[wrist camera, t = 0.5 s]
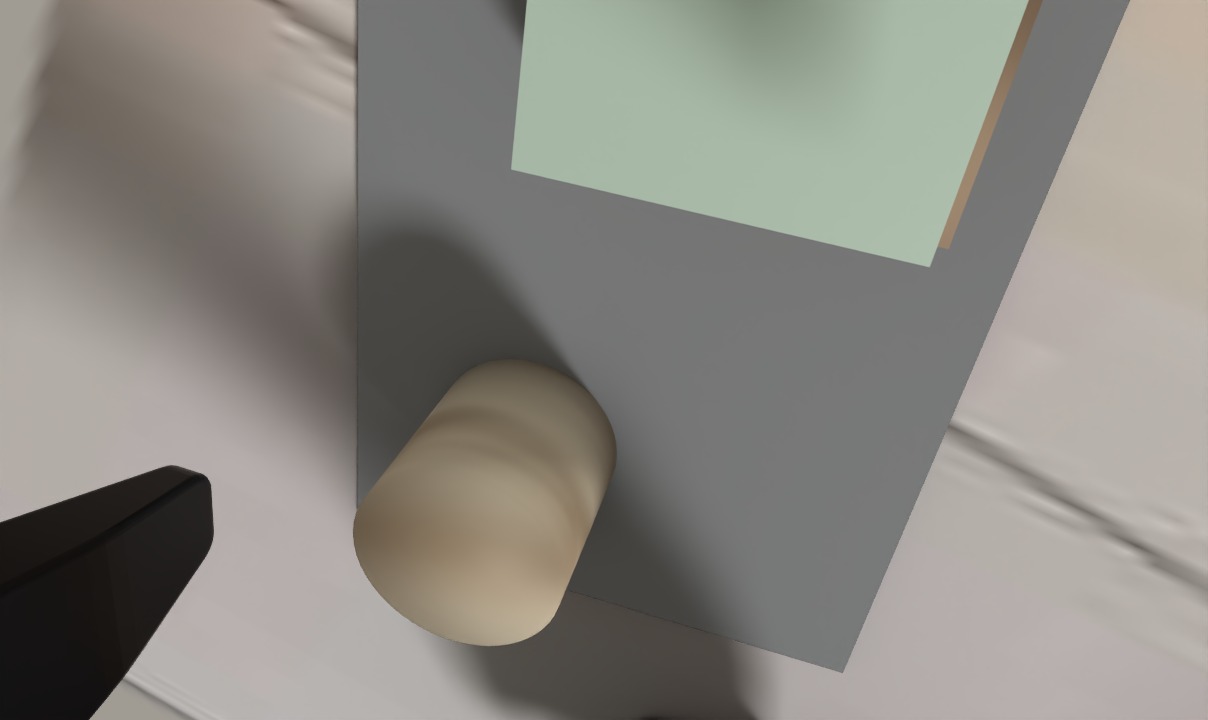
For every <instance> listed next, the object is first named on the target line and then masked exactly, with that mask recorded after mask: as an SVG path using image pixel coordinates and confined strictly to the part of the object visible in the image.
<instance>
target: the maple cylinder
mask: <svg viewBox="0 0 1208 720" xmlns="http://www.w3.org/2000/svg"><path fill="white" fill-rule="evenodd" d="M616 459H617V446H616V440H615V435H614V432H613V429H612V426H611V423H610V421H609V419H608V417H607V416H606V414H605V412H604V411H603V409H602V408H601V406H600V405H599V403H598V402H597V401H596V400H595V399H594V397H593V396H592V395H591V394H590V393H589V392H588V391H587V390H586V389H585V388H584V387H582V386H581V385H580V384H579V383H577V382H576V381H575V380H573V379H572V378H570V377H569V376H567V375H565V374H564V373H562V372H560V371H558V370H556V369H553V368H551V367H549V366H546V365H543V364H540V363H536V362H532V361H527V360H518V359H501V360H495V361H490V362H486V363H483V364H480V365H478V366H476V367H474V368H472V369H470V370H468V371H467V372H466V373H464V374H463V375H462V376H460V377H459V378H458V379H457V380H456V381H455V383H454V384H453V385H452V386H451V388H450V389H449V390H448V391H447V393H446V394H445V395H444V397H443V398H442V399H441V400H440V402H439V403H438V404H437V406H436V407H435V408H434V409H433V411H432V412H431V413H430V415H429V416H428V417H427V418H426V420H425V421H424V422H423V424H422V425H421V426H420V427H419V429H418V430H417V431H416V432H415V434H414V435H413V436H412V438H411V439H410V440H409V441H408V443H407V444H406V445H405V447H404V448H403V449H402V450H401V452H400V453H399V454H398V456H397V457H396V458H395V459H394V461H393V462H392V463H391V464H390V466H389V467H388V468H387V470H386V471H385V472H384V473H383V475H382V476H381V477H380V479H379V480H378V481H377V482H376V484H375V485H374V486H373V488H372V489H371V490H370V491H369V493H368V494H367V495H366V497H365V498H364V499H363V501H362V502H361V504H360V506H359V508H358V510H357V512H356V516H355V520H354V527H353V538H354V546H355V550H356V554H357V557H358V560H359V562H360V565H361V567H362V569H363V571H364V573H365V575H366V576H367V578H368V579H369V581H370V582H371V584H372V585H373V587H374V588H375V589H376V590H377V592H378V593H379V594H380V595H381V596H382V597H383V598H384V599H385V600H386V601H387V602H388V603H389V604H390V605H391V606H392V607H393V608H394V609H395V610H396V611H398V612H399V613H400V614H401V615H403V616H404V617H406V618H407V619H408V620H410V621H411V622H413V623H415V624H416V625H418V626H420V627H422V628H423V629H425V630H427V631H430V632H432V633H434V634H436V635H438V636H441V637H444V638H447V639H449V640H453V641H457V642H461V643H465V644H471V645H480V646H500V645H507V644H512V643H516V642H519V641H523V640H525V639H527V638H529V637H531V636H533V635H535V634H536V633H538V632H539V631H541V630H542V629H543V628H544V627H545V626H546V625H547V624H548V623H549V622H550V621H551V619H552V618H553V617H554V615H555V613H556V611H557V609H558V607H559V605H560V603H561V600H562V598H563V595H564V593H565V590H566V588H567V586H568V583H569V581H570V578H571V576H572V573H573V571H574V568H575V566H576V564H577V561H578V559H579V556H580V554H581V551H582V549H583V547H584V544H585V542H586V539H587V537H588V534H589V532H590V530H591V527H592V525H593V522H594V520H595V517H596V515H597V512H598V510H599V508H600V505H601V503H602V500H603V498H604V495H605V493H606V491H607V488H608V486H609V483H610V481H611V478H612V476H613V473H614V470H615V466H616Z"/></svg>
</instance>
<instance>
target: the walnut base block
mask: <svg viewBox="0 0 1208 720" xmlns="http://www.w3.org/2000/svg"><path fill="white" fill-rule="evenodd" d="M1042 1H1043V0H1029V1H1028V4H1027V6H1026V9H1025V12H1024V14H1023V17H1022V20H1021V23H1020V25H1019V28H1018V31H1017V33H1016V36H1015V39H1014V41H1013V44H1012V47H1011V49H1010V52H1009V55H1008V58H1007V60H1006V63H1005V66H1004V68H1003V71H1002V74H1001V76H1000V79H999V82H998V85H997V87H996V90H995V93H994V95H993V98H992V101H991V103H990V106H989V109H988V111H987V114H986V117H985V120H984V122H983V125H982V128H981V130H980V133H979V136H978V138H977V141H976V144H975V146H974V149H973V152H972V155H971V157H970V160H969V163H968V165H967V168H966V171H965V173H964V176H963V179H962V182H961V184H960V187H959V190H958V192H957V195H956V198H955V200H954V203H953V206H952V208H951V211H950V214H949V217H948V219H947V222H946V225H945V227H944V230H943V233H942V235H941V238H940V241H939V244H938V246H937V247H941V248H946V249H949V247H950V244H951V242H952V239H953V236H954V234H955V231H956V228H957V226H958V223H959V221H960V218H961V215H962V213H963V210H964V207H965V205H966V202H967V199H968V197H969V194H970V191H971V189H972V186H973V184H974V181H975V178H976V176H977V173H978V170H979V168H980V165H981V162H982V160H983V157H984V155H985V152H986V149H987V147H988V144H989V141H990V139H991V136H992V133H993V131H994V128H995V126H996V123H997V120H998V118H999V115H1000V112H1001V110H1002V107H1003V104H1004V102H1005V99H1006V96H1007V94H1008V91H1009V89H1010V86H1011V83H1012V81H1013V78H1014V75H1015V73H1016V70H1017V67H1018V65H1019V62H1020V60H1021V57H1022V54H1023V52H1024V49H1025V46H1026V44H1027V41H1028V38H1029V36H1030V33H1031V30H1032V28H1033V25H1034V23H1035V20H1036V17H1037V15H1038V12H1039V9H1040V7H1041V4H1042Z"/></svg>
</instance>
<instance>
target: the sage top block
mask: <svg viewBox="0 0 1208 720" xmlns="http://www.w3.org/2000/svg"><path fill="white" fill-rule="evenodd" d="M1028 1H1029V0H527V6H526V16H525V27H524V38H523V48H522V59H521V69H520V80H519V91H518V101H517V112H516V122H515V133H514V144H513V154H512V165H511V170H516V171H520V172H524V173H529V174H533V175H537V176H541V177H546V178H550V179H554V180H559V181H563V182H567V183H571V184H576V185H580V186H584V187H588V188H593V189H597V190H601V191H606V192H610V193H614V194H618V195H623V196H627V197H631V198H636V199H640V200H644V201H648V202H653V203H657V204H661V205H665V206H670V207H674V208H678V209H683V210H687V211H691V212H695V213H700V214H704V215H708V216H712V217H717V218H721V219H725V220H730V221H734V222H738V223H742V224H747V225H751V226H755V227H760V228H764V229H768V230H772V231H777V232H781V233H785V234H789V235H794V236H798V237H802V238H807V239H811V240H815V241H819V242H824V243H828V244H832V245H837V246H841V247H845V248H849V249H854V250H858V251H862V252H866V253H871V254H875V255H879V256H884V257H888V258H892V259H896V260H901V261H905V262H909V263H914V264H918V265H922V266H926V267H930V265H931V262H932V260H933V257H934V254H935V252H936V249H937V246H938V244H939V241H940V238H941V235H942V233H943V230H944V227H945V225H946V222H947V219H948V217H949V214H950V211H951V208H952V206H953V203H954V200H955V198H956V195H957V192H958V190H959V187H960V184H961V182H962V179H963V176H964V173H965V171H966V168H967V165H968V163H969V160H970V157H971V155H972V152H973V149H974V146H975V144H976V141H977V138H978V136H979V133H980V130H981V128H982V125H983V122H984V120H985V117H986V114H987V111H988V109H989V106H990V103H991V101H992V98H993V95H994V93H995V90H996V87H997V85H998V82H999V79H1000V76H1001V74H1002V71H1003V68H1004V66H1005V63H1006V60H1007V58H1008V55H1009V52H1010V49H1011V47H1012V44H1013V41H1014V39H1015V36H1016V33H1017V31H1018V28H1019V25H1020V23H1021V20H1022V17H1023V14H1024V12H1025V9H1026V6H1027V4H1028Z"/></svg>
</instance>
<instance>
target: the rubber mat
mask: <svg viewBox="0 0 1208 720" xmlns="http://www.w3.org/2000/svg"><path fill="white" fill-rule="evenodd" d="M1129 1H1130V0H1043V1H1042V4H1041V7H1040V9H1039V12H1038V15H1037V17H1036V20H1035V23H1034V25H1033V28H1032V30H1031V33H1030V36H1029V38H1028V41H1027V44H1026V46H1025V49H1024V52H1023V54H1022V57H1021V60H1020V62H1019V65H1018V67H1017V70H1016V73H1015V75H1014V78H1013V81H1012V83H1011V86H1010V89H1009V91H1008V94H1007V96H1006V99H1005V102H1004V104H1003V107H1002V110H1001V112H1000V115H999V118H998V120H997V123H996V126H995V128H994V131H993V133H992V136H991V139H990V141H989V144H988V147H987V149H986V152H985V155H984V157H983V160H982V162H981V165H980V168H979V170H978V173H977V176H976V178H975V181H974V184H973V186H972V189H971V191H970V194H969V197H968V199H967V202H966V205H965V207H964V210H963V213H962V215H961V218H960V221H959V223H958V226H957V228H956V231H955V234H954V236H953V239H952V242H951V244H950V247H949V249H946V248H941V247H937V249H936V252H935V254H934V257H933V260H932V262H931V265H930V267H926V266H922V265H918V264H914V263H909V262H905V261H901V260H896V259H892V258H888V257H884V256H879V255H875V254H871V253H866V252H862V251H858V250H854V249H849V248H845V247H841V246H837V245H832V244H828V243H824V242H819V241H815V240H811V239H807V238H802V237H798V236H794V235H789V234H785V233H781V232H777V231H772V230H768V229H764V228H760V227H755V226H751V225H747V224H742V223H738V222H734V221H730V220H725V219H721V218H717V217H712V216H708V215H704V214H700V213H695V212H691V211H687V210H683V209H678V208H674V207H670V206H665V205H661V204H657V203H653V202H648V201H644V200H640V199H636V198H631V197H627V196H623V195H618V194H614V193H610V192H606V191H601V190H597V189H593V188H588V187H584V186H580V185H576V184H571V183H567V182H563V181H559V180H554V179H550V178H546V177H541V176H537V175H533V174H529V173H524V172H520V171H516V170H511V165H512V154H513V144H514V133H515V122H516V112H517V101H518V91H519V80H520V69H521V59H522V48H523V38H524V27H525V16H526V6H527V0H358V508H359V506H360V504H361V502H362V501H363V499H364V498H365V497H366V495H367V494H368V493H369V491H370V490H371V489H372V488H373V486H374V485H375V484H376V482H377V481H378V480H379V479H380V477H381V476H382V475H383V473H384V472H385V471H386V470H387V468H388V467H389V466H390V464H391V463H392V462H393V461H394V459H395V458H396V457H397V456H398V454H399V453H400V452H401V450H402V449H403V448H404V447H405V445H406V444H407V443H408V441H409V440H410V439H411V438H412V436H413V435H414V434H415V432H416V431H417V430H418V429H419V427H420V426H421V425H422V424H423V422H424V421H425V420H426V418H427V417H428V416H429V415H430V413H431V412H432V411H433V409H434V408H435V407H436V406H437V404H438V403H439V402H440V400H441V399H442V398H443V397H444V395H445V394H446V393H447V391H448V390H449V389H450V388H451V386H452V385H453V384H454V383H455V381H456V380H457V379H458V378H459V377H460V376H462V375H463V374H464V373H466V372H467V371H468V370H470V369H472V368H474V367H476V366H478V365H480V364H483V363H486V362H490V361H495V360H501V359H518V360H527V361H532V362H536V363H540V364H543V365H546V366H549V367H551V368H553V369H556V370H558V371H560V372H562V373H564V374H565V375H567V376H569V377H570V378H572V379H573V380H575V381H576V382H577V383H579V384H580V385H581V386H582V387H584V388H585V389H586V390H587V391H588V392H589V393H590V394H591V395H592V396H593V397H594V399H595V400H596V401H597V402H598V403H599V405H600V406H601V408H602V409H603V411H604V412H605V414H606V416H607V417H608V419H609V421H610V423H611V426H612V429H613V432H614V435H615V440H616V446H617V459H616V466H615V470H614V473H613V476H612V478H611V481H610V483H609V486H608V488H607V491H606V493H605V495H604V498H603V500H602V503H601V505H600V508H599V510H598V512H597V515H596V517H595V520H594V522H593V525H592V527H591V530H590V532H589V534H588V537H587V539H586V542H585V544H584V547H583V549H582V551H581V554H580V556H579V559H578V561H577V564H576V566H575V568H574V571H573V573H572V576H571V578H570V581H569V583H568V586H567V588H566V590H569V591H573V592H576V593H579V594H582V595H586V596H589V597H592V598H596V599H599V600H602V601H606V602H609V603H612V604H616V605H619V606H622V607H626V608H629V609H632V610H636V611H639V612H642V613H646V614H649V615H652V616H655V617H659V618H662V619H665V620H669V621H672V622H675V623H679V624H682V625H685V626H689V627H692V628H695V629H699V630H702V631H705V632H709V633H712V634H715V635H719V636H722V637H725V638H728V639H732V640H735V641H738V642H742V643H745V644H748V645H752V646H755V647H758V648H762V649H765V650H768V651H772V652H775V653H778V654H782V655H785V656H788V657H792V658H795V659H798V660H801V661H805V662H808V663H811V664H815V665H818V666H821V667H825V668H828V669H831V670H835V671H838V672H841V673H843V671H844V669H845V666H846V664H847V662H848V659H849V657H850V655H851V652H852V650H853V648H854V645H855V643H856V641H857V638H858V636H859V634H860V631H861V629H862V627H863V624H864V622H865V620H866V617H867V615H868V613H869V610H870V608H871V606H872V603H873V601H874V599H875V596H876V594H877V592H878V589H879V587H880V584H881V582H882V580H883V577H884V575H885V573H886V570H887V568H888V566H889V563H890V561H891V559H892V556H893V554H894V552H895V549H896V547H897V545H898V542H899V540H900V538H901V535H902V533H903V531H904V528H905V526H906V524H907V521H908V519H909V517H910V514H911V512H912V510H913V507H914V505H915V502H916V500H917V498H918V495H919V493H920V491H921V488H922V486H923V484H924V481H925V479H926V477H927V474H928V472H929V470H930V467H931V465H932V463H933V460H934V458H935V456H936V453H937V451H938V449H939V446H940V444H941V442H942V439H943V437H944V435H945V432H946V430H947V428H948V425H949V423H950V421H951V418H952V416H953V413H954V411H955V409H956V406H957V404H958V402H959V399H960V397H961V395H962V392H963V390H964V388H965V385H966V383H967V381H968V378H969V376H970V374H971V371H972V369H973V367H974V364H975V362H976V360H977V357H978V355H979V353H980V350H981V348H982V346H983V343H984V341H985V339H986V336H987V334H988V331H989V329H990V327H991V324H992V322H993V320H994V317H995V315H996V313H997V310H998V308H999V306H1000V303H1001V301H1002V299H1003V296H1004V294H1005V292H1006V289H1007V287H1008V285H1009V282H1010V280H1011V278H1012V275H1013V273H1014V271H1015V268H1016V266H1017V264H1018V261H1019V259H1020V257H1021V254H1022V252H1023V250H1024V247H1025V245H1026V242H1027V240H1028V238H1029V235H1030V233H1031V231H1032V228H1033V226H1034V224H1035V221H1036V219H1037V217H1038V214H1039V212H1040V210H1041V207H1042V205H1043V203H1044V200H1045V198H1046V196H1047V193H1048V191H1049V189H1050V186H1051V184H1052V182H1053V179H1054V177H1055V175H1056V172H1057V170H1058V168H1059V165H1060V163H1061V160H1062V158H1063V156H1064V153H1065V151H1066V149H1067V146H1068V144H1069V142H1070V139H1071V137H1072V135H1073V132H1074V130H1075V128H1076V125H1077V123H1078V121H1079V118H1080V116H1081V114H1082V111H1083V109H1084V107H1085V104H1086V102H1087V100H1088V97H1089V95H1090V93H1091V90H1092V88H1093V86H1094V83H1095V81H1096V79H1097V76H1098V74H1099V71H1100V69H1101V67H1102V64H1103V62H1104V60H1105V57H1106V55H1107V53H1108V50H1109V48H1110V46H1111V43H1112V41H1113V39H1114V36H1115V34H1116V32H1117V29H1118V27H1119V25H1120V22H1121V20H1122V18H1123V15H1124V13H1125V11H1126V8H1127V6H1128V4H1129Z"/></svg>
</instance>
